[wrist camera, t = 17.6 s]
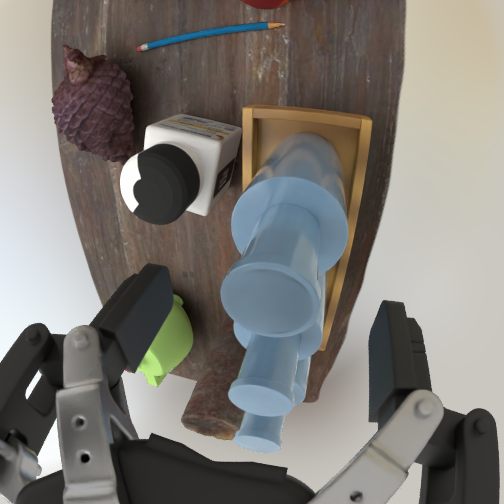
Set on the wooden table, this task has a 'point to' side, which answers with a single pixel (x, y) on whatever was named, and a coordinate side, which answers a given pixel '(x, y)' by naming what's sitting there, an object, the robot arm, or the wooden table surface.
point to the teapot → (168, 345)
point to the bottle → (286, 237)
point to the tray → (351, 155)
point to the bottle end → (271, 419)
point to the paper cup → (265, 3)
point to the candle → (217, 388)
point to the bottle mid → (274, 365)
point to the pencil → (209, 33)
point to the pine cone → (95, 107)
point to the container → (180, 168)
